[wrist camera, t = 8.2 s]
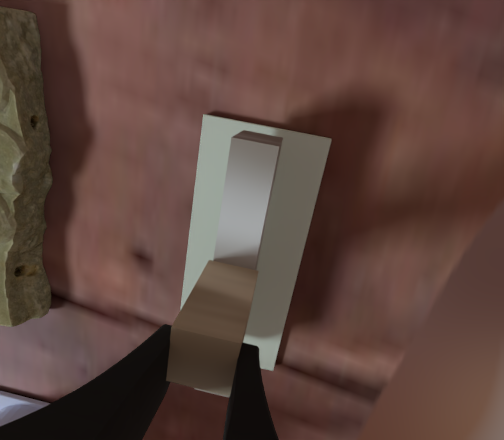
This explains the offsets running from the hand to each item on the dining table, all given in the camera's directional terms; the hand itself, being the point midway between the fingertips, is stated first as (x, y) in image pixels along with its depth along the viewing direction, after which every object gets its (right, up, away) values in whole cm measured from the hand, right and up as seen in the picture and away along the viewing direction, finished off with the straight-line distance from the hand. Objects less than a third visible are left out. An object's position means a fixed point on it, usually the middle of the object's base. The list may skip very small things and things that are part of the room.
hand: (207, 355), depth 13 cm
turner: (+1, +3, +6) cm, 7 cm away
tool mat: (+1, +3, +8) cm, 9 cm away
